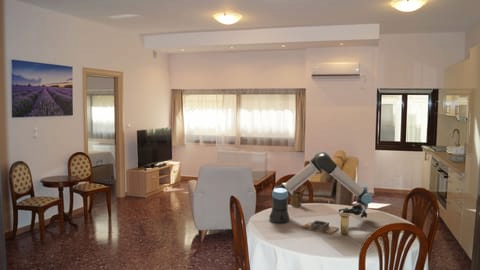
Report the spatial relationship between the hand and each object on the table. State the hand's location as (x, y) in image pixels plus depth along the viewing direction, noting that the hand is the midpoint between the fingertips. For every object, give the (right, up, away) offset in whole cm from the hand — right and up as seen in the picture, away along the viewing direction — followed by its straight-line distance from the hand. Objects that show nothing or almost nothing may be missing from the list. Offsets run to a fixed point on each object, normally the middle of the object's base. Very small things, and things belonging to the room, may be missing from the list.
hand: (349, 216), depth 275 cm
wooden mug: (-26, -4, +66) cm, 71 cm away
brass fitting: (-6, -11, -9) cm, 15 cm away
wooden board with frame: (-20, -9, +2) cm, 22 cm away
